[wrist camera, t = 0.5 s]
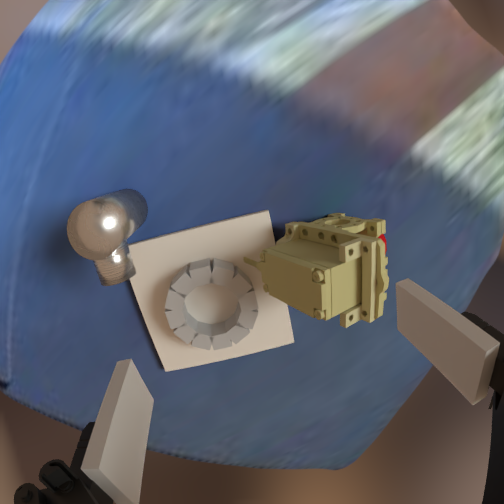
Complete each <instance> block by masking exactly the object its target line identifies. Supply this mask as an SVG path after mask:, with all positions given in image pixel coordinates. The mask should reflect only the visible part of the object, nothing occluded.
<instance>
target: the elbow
mask: <svg viewBox="0 0 504 504" xmlns="http://www.w3.org/2000/svg"><path fill="white" fill-rule="evenodd" d="M147 213H148V207H147V203H146V200H145V198H144V197H143V196H142V195H141V194H140V193H139V192H138V191H136V190H133V189H123V190H119V191H116V192H113V193H110V194H107V195H104V196H101V197H98V198H95V199H92V200H89V201H86V202H84V203H81V204H80V205H78V206H77V207H76V208H75V209H74V210H73V211H72V213H71V214H70V216H69V219H68V223H67V235H68V239H69V241H70V244H71V246H72V247H73V249H74V250H75V251H76V252H77V253H78V254H79V255H81V256H82V257H84V258H86V259H90V260H93V262H94V265H95V268H96V271H97V273H98V276H99V279H100V282H101V285H103V286H110V285H115V284H118V283H121V282H124V281H126V280H128V279H130V278H131V277H133V276H134V275H135V274H136V269H135V266H134V263H133V259H132V256H131V253H130V250H129V247H128V243H127V240H126V239H127V238H128V237H130V236H131V235H132V234H133V233H134V232H135V231H136V230H137V229H138V228H139V227H140V226H141V225H142V224H143V223H144V221H145V220H146V217H147Z"/></svg>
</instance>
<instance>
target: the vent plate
mask: <svg viewBox="0 0 504 504" xmlns="http://www.w3.org/2000/svg"><path fill="white" fill-rule="evenodd" d="M273 246H276V244H275V239H274V234H273V229H272V224H271V220H270V215H269V211H268V210H264V211H259V212H255V213H251V214H246V215H242V216H238V217H234V218H230V219H225V220H221V221H217V222H213V223H209V224H205V225H201V226H197V227H193V228H189V229H185V230H181V231H177V232H173V233H169V234H165V235H161V236H158V237H154V238H150V239H146V240H142V241H139V242H135V243H131V244H128V247H129V250H130V253H131V256H132V259H133V263H134V266H135V269H136V274H135V275H134V276H133V277H131V278H130V282H131V285H132V287H133V290H134V293H135V296H136V299H137V301H138V304H139V307H140V309H141V312H142V315H143V317H144V320H145V323H146V325H147V328H148V330H149V333H150V335H151V338H152V340H153V343H154V345H155V347H156V350H157V352H158V355H159V357H160V359H161V362H162V364H163V366H164V369H165V371H166V372H167V371H172V370H177V369H183V368H188V367H193V366H198V365H203V364H207V363H212V362H217V361H221V360H226V359H230V358H235V357H239V356H243V355H247V354H251V353H255V352H259V351H263V350H267V349H271V348H275V347H279V346H283V345H286V344H290V343H294V339H293V333H292V328H291V322H290V317H289V311H288V306H287V304H286V303H284V302H282V301H280V300H278V299H277V298H275V297H273V296H271V295H269V292H267V293H266V292H265V291H264V289H263V285H264V284H265V283H263V282H262V274H261V272H260V271H259V270H258V269H257V268H256V267H254V266H252V265H249V264H247V263H245V262H243V261H244V260H243V259H244V258H243V257H247V258H249V259H252V260H254V261H256V262H260V261H261V259H260V255H259V254H260V252H262V250H263V249H266V248H270V247H273Z"/></svg>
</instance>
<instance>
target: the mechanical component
mask: <svg viewBox="0 0 504 504" xmlns="http://www.w3.org/2000/svg"><path fill="white" fill-rule="evenodd" d="M285 228H286V233H285V236H284V237H282V238H281V239H279V240H278V241H277V242H276V246H273V247H270V248H266V249H263V250H262V252H260V254H259V255H260V259H261V261H260V262H256V261H254V260H252V259H249V258H247V257H243V258H244V259H243V260H244V261H243V262H245V263H247V264H249V265H252V266H254V267H256V268H257V269H258V270H259V271H260V272H261V274H262V282H263V283H265V284H264V285H263V289H264V291H265V292H266V293H267V292H269V295H271V296H273V297H275V298H277V299H278V300H280V301H282V302H284V303H286V304H288V305H290V306H292V307H294V308H296V309H298V310H299V311H301V312H303V313H305V314H307V315H309V316H311V317H313V318H315V317H316V318H317V319H318V320H320V319H324V320H328V319H330V318H331V317H334V316H336V315H338V314H340V325H341V326H343V327H345V328H347V327H348V326H350V325H352V324H354V323H355V322H357V321H359V320H361V319H362V320H364V321H367V322H369V323H371V322H372V321H374V320H375V319H376V318H378V317H380V316H381V315H383V303H384V300H386V293H385V294H384V291H385V290H386V289H387V288H388V283H389V278H388V276H387V269H386V270H385V265H387V262H388V257H385V254H386V251H387V249H386V239H385V237H384V233H386V231H385V220H383V219H377V218H374V219H371V220H369V219H366V220H365V219H360V218H356V217H346V216H345V214H343V213H333V214H329V215H328V217H327V218H322V219H317V220H315V221H313V222H310V223H306V222H291V223H287V224H285Z"/></svg>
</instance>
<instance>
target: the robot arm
mask: <svg viewBox="0 0 504 504" xmlns="http://www.w3.org/2000/svg"><path fill="white" fill-rule="evenodd" d="M396 298H397V329H398V330H399V331H400V332H401V333H402V334H403V335H404V336H405V337H406V338H407V339H408V340H409V341H410V342H411V343H412V344H413V345H414V346H415V347H416V348H417V349H418V350H419V351H420V352H421V353H422V354H423V355H424V356H425V357H426V358H427V359H428V360H429V361H430V362H431V363H432V364H433V365H434V366H435V367H436V368H437V369H438V370H439V371H440V372H441V373H442V374H443V375H444V376H445V377H446V378H447V379H448V380H449V381H450V382H451V383H452V384H453V385H454V386H455V387H456V388H457V389H458V390H459V391H460V392H461V393H462V394H463V396H464V397H465V398H466V399H467V400H468V401H469V402H470V403H471V404H472V405H474V404H476V403H477V402H479V401H480V400H482V399H483V398H485V397H486V395H487V392H488V389H489V386H490V387H492V388H493V389H494V393H493V396H492V400H491V403H490V406H489V409H491V407H492V405H493V415H492V433H491V446H490V457H489V464H488V472H487V479H486V485H485V490H484V496H483V501H482V504H504V334H502V333H501V332H499V331H498V330H497V329H495V328H494V327H492V326H491V325H490V326H489V324H488V323H487V322H485V321H483V320H482V319H481V318H479V317H478V316H476V315H475V314H471V313H468V312H463V313H461V314H460V313H458V312H457V311H456V310H454V309H453V308H451V307H450V306H448V305H447V304H445V303H444V302H443V301H441V300H440V299H438V298H437V297H435V296H434V295H432V294H431V293H429V292H428V291H426V290H425V289H423V288H422V287H420V286H419V285H417V284H416V283H414V282H413V281H411V280H410V279H405V280H402V281H400V282H397V283H396ZM153 402H154V400H153V398H152V396H151V394H150V393H149V391H148V389H147V387H146V385H145V384H144V382H143V380H142V378H141V376H140V374H139V373H138V371H137V369H136V367H135V365H134V363H133V361H132V359H127V360H122V361H118V362H117V364H116V367H115V369H114V372H113V375H112V377H111V380H110V383H109V385H108V388H107V391H106V394H105V396H104V399H103V402H102V405H101V408H100V410H99V413H98V416H97V419H96V422H89V423H88V424H87V426H86V427H85V428H84V430H83V431H82V434H81V436H80V441H79V442H78V445H77V449H76V451H75V454H74V457H73V460H72V463H71V466H70V468H69V467H68V466H67V465H66V464H65V463H64V462H63V461H62V460H59V459H58V460H52V461H49V462H47V463H46V464H45V465H44V466H43V467H42V468H41V470H40V473H39V480H40V481H41V482H42V483H43V484H44V485H45V486H46V487H47V489H42V490H39V489H38V488H37V487H36V486H35V485H34V484H31V483H25V484H23V485H21V486H20V487H19V488H18V489H17V490H16V492H15V495H14V504H113V501H114V502H115V503H117V504H139V499H140V490H141V481H142V474H143V466H144V459H145V451H146V445H147V439H148V432H149V426H150V420H151V414H152V408H153Z"/></svg>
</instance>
